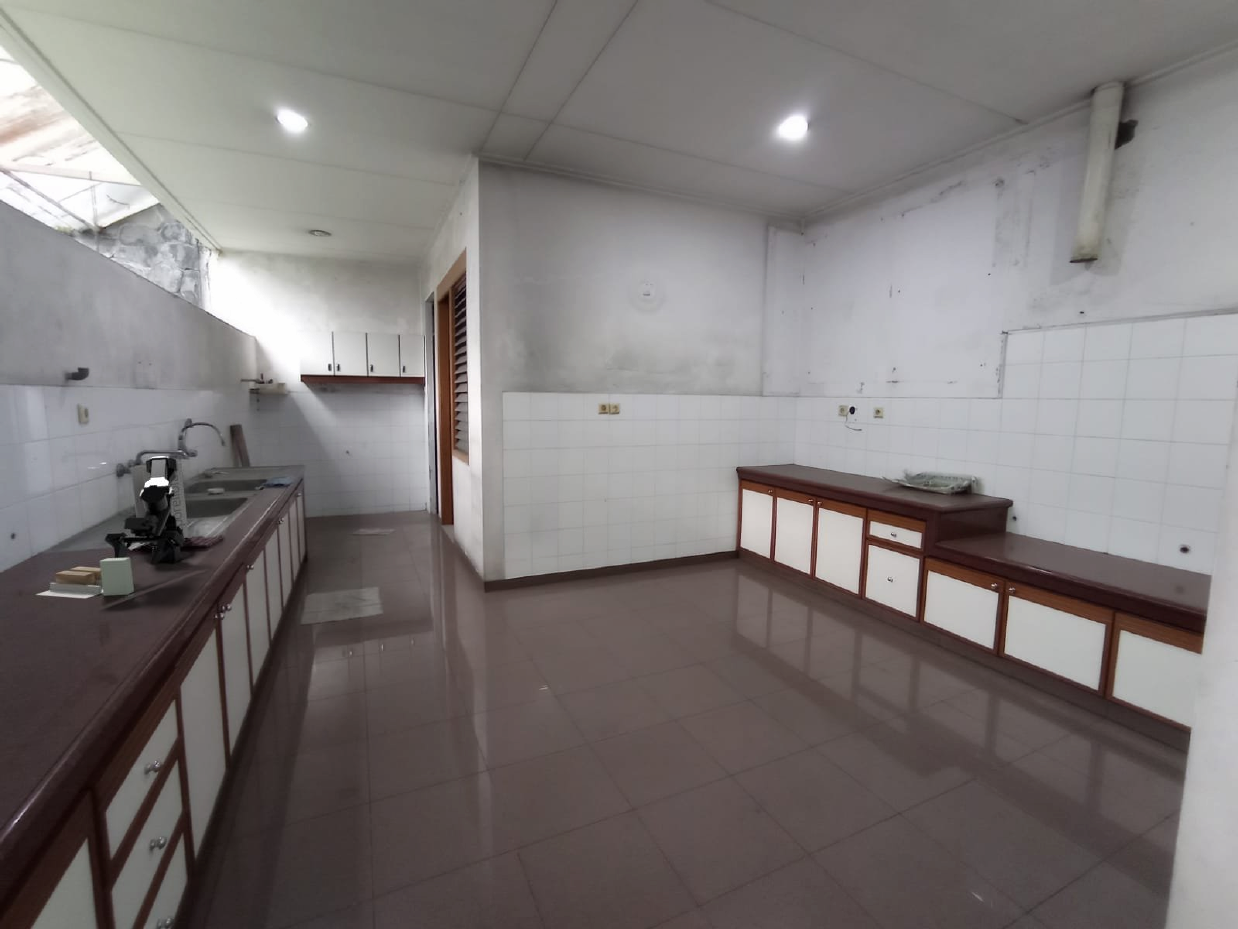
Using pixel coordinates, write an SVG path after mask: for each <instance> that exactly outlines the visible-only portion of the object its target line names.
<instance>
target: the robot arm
mask: <svg viewBox="0 0 1238 929" xmlns="http://www.w3.org/2000/svg"><path fill="white" fill-rule="evenodd" d="M178 463H179V462H178V461H177V459H175V458H171V457H169V456H166V455H164V456H152V457H150V458H149V459H147V460H145V465H146V471H147V472H148V473H150V480H149V481H148V482H146V483H145V485H144V489H142V490H141V494H140V499H141V501H142V502H143V505H144V508H145V510H146V512H145V514H144V517H143V518H137V517H125V520H124V524H123V529H124V530H130V533H131V534H132V535H131V536H129V535H128V534H126V533H125V532H123V531H122V532H121V531H119V532H116V531H115V532H114V531H113V532H108V533H107V534H106V535H105V538H104V539H103V540H104V542H106V543H107V544H108V545H110V546H111V547H112V548H113V551H114V558H126V557H127V555H128V553H129V552H130V548H131V547H132V544H135V543H136V544H137V543H139V544H140V543H144V542H145V543H148V542H149V545H148V546H149V548H151V547H153V548H152V550H151V551H152V557H151V559H150V563H149V564H150V565H152V566H154V565H155V564H156V563H157V564H166V565H167V564H168V565H169V564H174V563H177V562H178V561H180V560H184V558H185V557H184V556H182V555H181V548H182V547H183V546H184V544H185V539H184V534H183V530H182V529H181V528H180V526H178V524H177V520H176V519H175V517H174V516H172V507H171V498H173V497H174V496H175V490H173V488H172V487H171V482H172V481H173V480H174V479H175V478H176V471H178ZM133 535H134V536H133Z"/></svg>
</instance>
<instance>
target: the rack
mask: <svg viewBox="0 0 1238 929" xmlns="http://www.w3.org/2000/svg"><path fill="white" fill-rule="evenodd" d="M99 594H104V593H103V585H102V580H95V586H93V585H79V584H65V583H56V582H49V590H46V591H44V592H43V591H42V592H40V593H36V594H35V595H36V596H44V597H45V596H47V597H62V598H73V599H88V598H90V597H94V596H97V595H99Z"/></svg>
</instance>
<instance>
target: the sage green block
mask: <svg viewBox="0 0 1238 929" xmlns="http://www.w3.org/2000/svg"><path fill="white" fill-rule="evenodd" d="M99 568H100V569H101V577H102V585H103V593H102V594H103V596H120V595H121V596H122V595H123V596H124V595H125V596H124V597H129V596H131V597H132V595H133V594H134V595H135V587H134V579H133V570H132V564H131V557H125V558H115V557H112V558H111V557H110V558H109V557H107V558H105V559H102V560H101V559H100V560H99ZM134 595H133V596H134ZM129 598H130V597H129Z"/></svg>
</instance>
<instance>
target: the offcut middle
mask: <svg viewBox="0 0 1238 929" xmlns="http://www.w3.org/2000/svg"><path fill="white" fill-rule="evenodd" d="M54 577H55V583H65V584H79V585H93V586H95V578H94V573H91V572H76V571H70V570H63V571H60V572H55V573H54Z"/></svg>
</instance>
